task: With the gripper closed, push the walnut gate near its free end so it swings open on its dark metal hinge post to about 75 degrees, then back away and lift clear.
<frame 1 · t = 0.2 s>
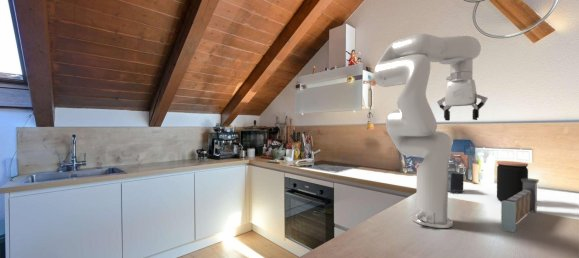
hand: (460, 120, 102), 36 cm above the worktop, tool pointing down, fingers open, 9 cm apart
gate post: (529, 211, 100), on the worktop
small box: (452, 191, 134), on the worktop
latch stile: (508, 229, 81), on the worktop
gate: (520, 206, 90), point 5 cm above the worktop, hinge at 0.0°
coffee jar: (511, 202, 115), on the worktop
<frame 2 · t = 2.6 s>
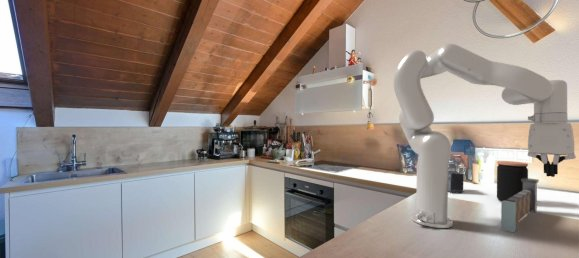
hand: (550, 176, 81), 18 cm above the worktop, tool pointing down, fingers closed
nothing on the worktop moved.
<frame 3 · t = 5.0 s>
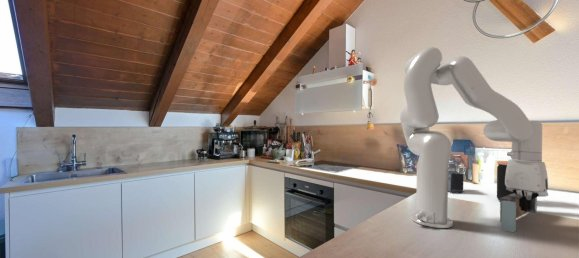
hand: (525, 210, 85), 5 cm above the worktop, tool pointing down, fingers closed
gate: (516, 205, 91), point 5 cm above the worktop, hinge at 4.3°, touching gripper
everything else where it was.
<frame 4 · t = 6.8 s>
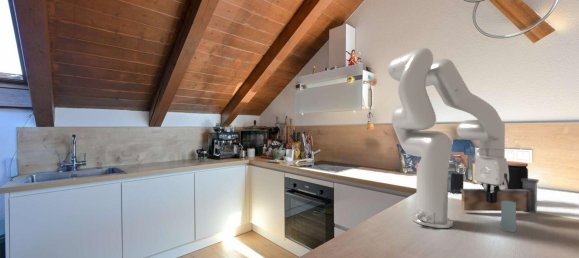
hand: (491, 202, 94), 5 cm above the worktop, tool pointing down, fingers closed
gate: (496, 200, 98), point 5 cm above the worktop, hinge at 36.6°, touching gripper
everything else where it was.
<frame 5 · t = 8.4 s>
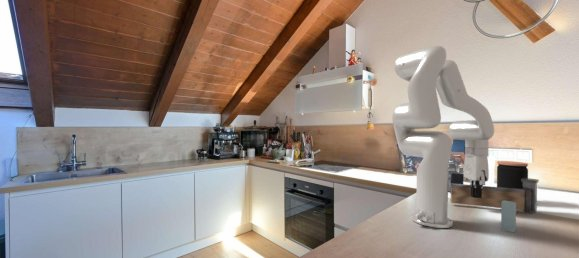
hand: (476, 197, 101), 5 cm above the worktop, tool pointing down, fingers closed
gate: (488, 197, 103), point 5 cm above the worktop, hinge at 60.3°, touching gripper
everything else where it was.
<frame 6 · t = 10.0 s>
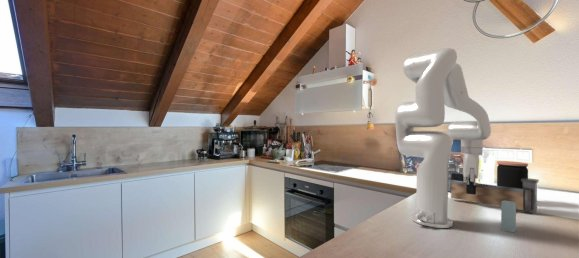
hand: (471, 193, 108), 5 cm above the worktop, tool pointing down, fingers closed
gate: (487, 194, 107), point 5 cm above the worktop, hinge at 81.7°, touching gripper
everything else where it was.
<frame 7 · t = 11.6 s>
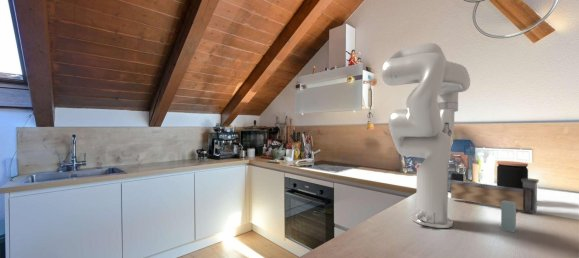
hand: (446, 151, 106), 23 cm above the worktop, tool pointing down, fingers closed
gate: (487, 194, 107), point 5 cm above the worktop, hinge at 81.7°
everything else where it was.
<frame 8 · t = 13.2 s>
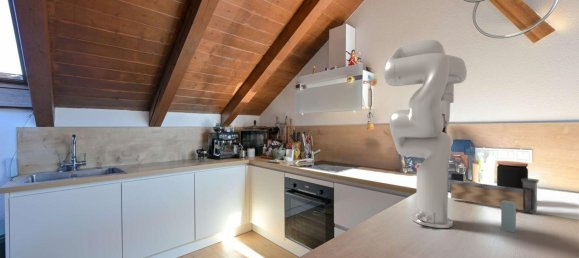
hand: (442, 142, 107), 27 cm above the worktop, tool pointing down, fingers closed
nothing on the worktop moved.
at the end: gate at +82° (first picture: +0°); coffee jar moved 0.2 cm from its start; small box moved 0.3 cm from its start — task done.
